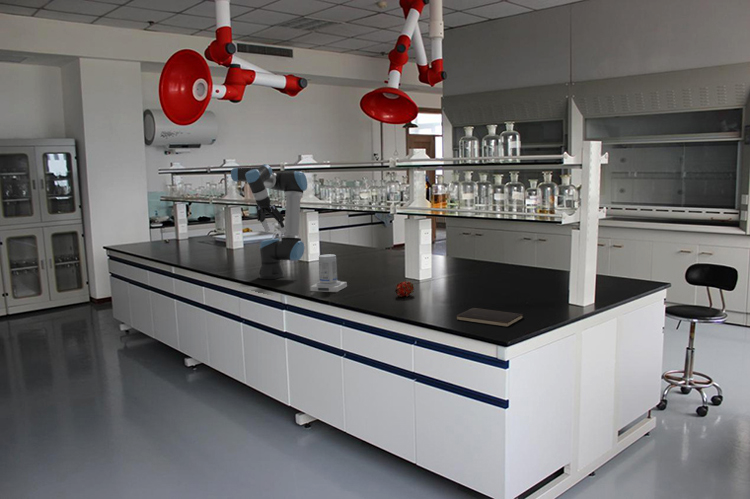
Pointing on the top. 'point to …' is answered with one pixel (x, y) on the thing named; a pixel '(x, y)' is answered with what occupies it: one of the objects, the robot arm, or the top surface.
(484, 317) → the hardcover book
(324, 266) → the supplement tub
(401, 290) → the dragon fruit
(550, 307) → the top surface
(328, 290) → the scale
